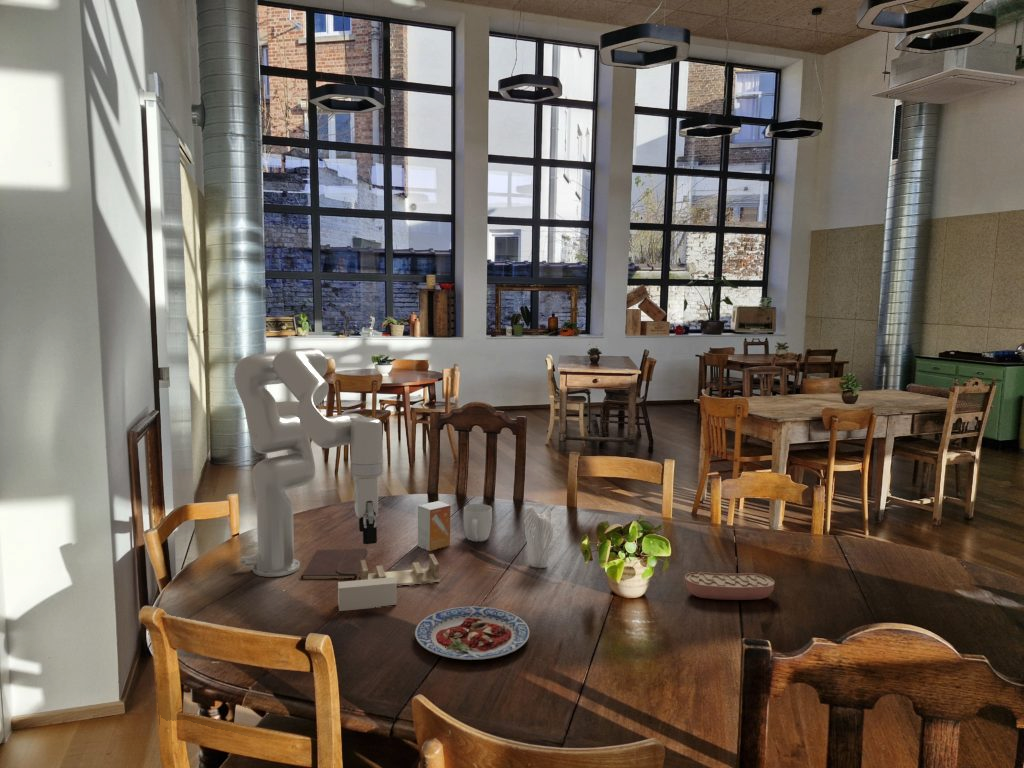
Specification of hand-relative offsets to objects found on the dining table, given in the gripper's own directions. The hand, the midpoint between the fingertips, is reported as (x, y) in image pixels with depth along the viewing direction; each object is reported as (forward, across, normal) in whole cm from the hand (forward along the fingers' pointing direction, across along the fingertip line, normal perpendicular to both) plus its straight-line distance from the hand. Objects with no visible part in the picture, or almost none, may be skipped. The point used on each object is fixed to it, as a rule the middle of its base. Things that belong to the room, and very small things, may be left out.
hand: (367, 537), depth 183 cm
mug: (+18, -40, +38) cm, 58 cm away
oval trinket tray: (+19, +18, +91) cm, 95 cm away
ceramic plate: (+18, +24, +21) cm, 36 cm away
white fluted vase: (+18, -15, +50) cm, 55 cm away
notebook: (+18, -29, -6) cm, 35 cm away
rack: (+18, -14, +10) cm, 25 cm away
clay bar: (+18, 0, 0) cm, 18 cm away
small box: (+18, -38, +24) cm, 48 cm away
